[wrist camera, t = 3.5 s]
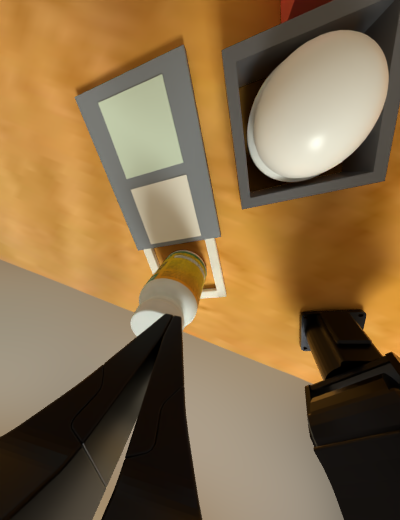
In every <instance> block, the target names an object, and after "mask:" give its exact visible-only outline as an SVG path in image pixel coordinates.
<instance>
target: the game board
mask: <svg viewBox="0 0 400 520" xmlns="http://www.w3.org/2000/svg"><path fill="white" fill-rule="evenodd" d="M75 99H76V102H77V104H78V107H79V109H80V111H81V114H82V116H83V119H84V121H85V123H86V126H87V128H88V131H89V133H90V135H91V138H92V140H93V143H94V145H95V148H96V150H97V152H98V155H99V157H100V160H101V162H102V164H103V167H104V169H105V172H106V174H107V177H108V179H109V181H110V184H111V186H112V189H113V191H114V193H115V196H116V198H117V201H118V203H119V205H120V208H121V210H122V213H123V215H124V218H125V220H126V222H127V225H128V227H129V230H130V232H131V234H132V237H133V239H134V242H135V244H136V247H137V249H138V250H144V253H145V255H146V258H147V260H148V263H149V265H150V268H151V270H152V273H153V275H154V273H155V272H156V271H157V270H158V268H159V267H160V265H159V262H158V259H157V256H156V254H155V251H154V248H156V247H162V246H168V245H174V244H180V243H186V242H193V241H199V240H205V242H206V246H207V251H208V255H209V259H210V263H211V268H212V272H213V276H214V281H215V285H216V288H211V289H203V290H202V293H201V297H200V299H201V298H215V297H226V294H227V293H226V289H225V284H224V279H223V274H222V269H221V265H220V260H219V255H218V250H217V245H216V240H215V238H217V237H221V233H220V228H219V222H218V217H217V212H216V207H215V201H214V196H213V191H212V186H211V180H210V175H209V170H208V165H207V159H206V154H205V149H204V144H203V139H202V133H201V128H200V123H199V118H198V112H197V107H196V102H195V97H194V91H193V86H192V81H191V76H190V71H189V65H188V60H187V55H186V50H185V47H184V45H182V46H179V47H177V48H175V49H173V50H171V51H169V52H167V53H165V54H163V55H161V56H159V57H157V58H155V59H153V60H151V61H148V62H146V63H144V64H142V65H140V66H138V67H136V68H134V69H132V70H130V71H128V72H126V73H124V74H122V75H120V76H117V77H115V78H113V79H111V80H109V81H107V82H105V83H103V84H101V85H99V86H97V87H95V88H93V89H91V90H89V91H86V92H84V93H82V94H80V95H78V96H76V97H75Z"/></svg>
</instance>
